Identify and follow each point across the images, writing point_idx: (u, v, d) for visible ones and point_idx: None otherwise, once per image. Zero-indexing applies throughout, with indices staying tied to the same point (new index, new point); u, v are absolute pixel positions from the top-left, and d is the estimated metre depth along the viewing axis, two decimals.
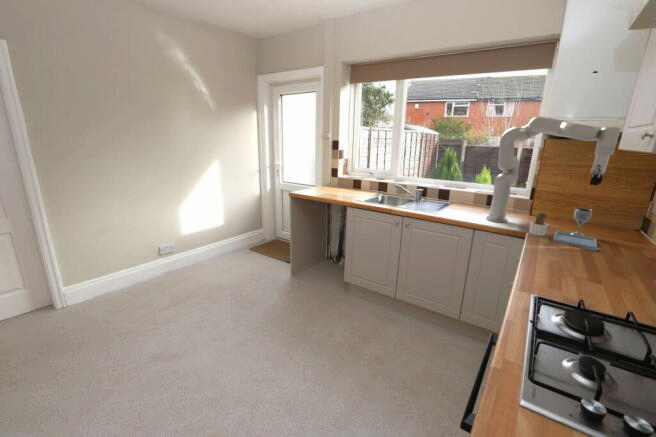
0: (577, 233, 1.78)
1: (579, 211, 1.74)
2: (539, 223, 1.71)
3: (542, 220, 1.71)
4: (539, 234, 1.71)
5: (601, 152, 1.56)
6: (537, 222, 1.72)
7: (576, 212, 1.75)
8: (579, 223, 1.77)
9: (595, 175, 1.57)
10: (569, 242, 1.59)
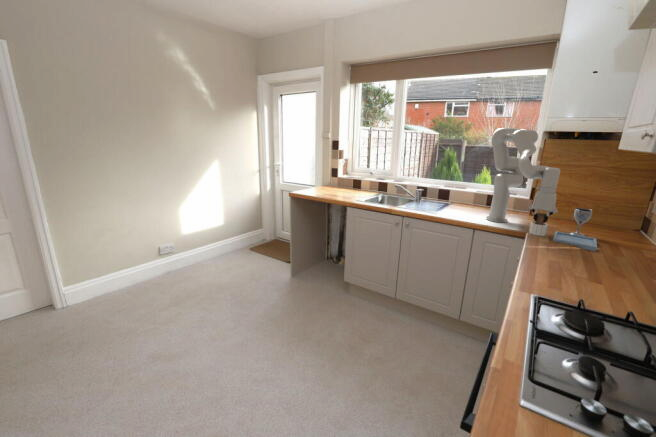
0: (577, 233, 1.78)
1: (579, 211, 1.74)
2: (539, 223, 1.71)
3: (542, 220, 1.71)
4: (539, 234, 1.71)
5: (555, 191, 1.65)
6: (537, 222, 1.72)
7: (576, 212, 1.75)
8: (579, 223, 1.77)
9: (551, 214, 1.69)
10: (569, 242, 1.59)
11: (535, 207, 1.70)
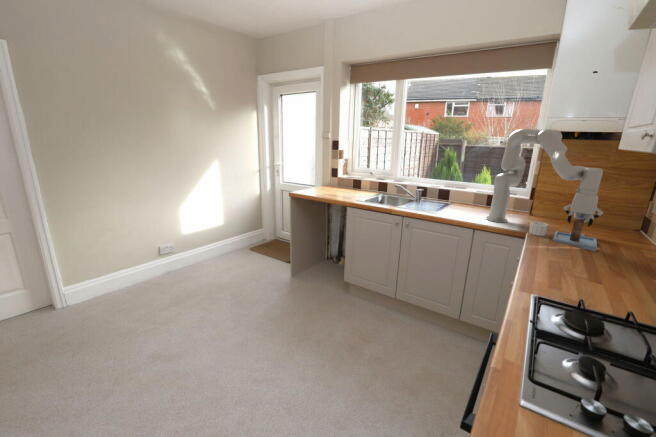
0: None
1: None
2: (577, 229, 1.61)
3: (580, 226, 1.60)
4: (539, 234, 1.71)
5: (596, 193, 1.54)
6: (575, 228, 1.62)
7: None
8: None
9: (596, 217, 1.57)
10: (569, 242, 1.59)
11: (574, 210, 1.60)
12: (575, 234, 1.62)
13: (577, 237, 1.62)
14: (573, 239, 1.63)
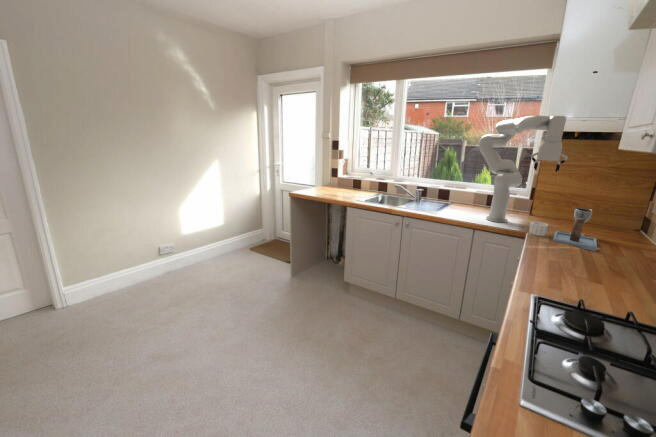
0: None
1: (579, 211, 1.74)
2: (577, 229, 1.61)
3: (580, 226, 1.60)
4: (539, 234, 1.71)
5: (560, 140, 1.63)
6: (575, 228, 1.62)
7: (576, 212, 1.75)
8: None
9: (563, 162, 1.65)
10: (569, 242, 1.59)
11: (540, 158, 1.69)
12: (575, 234, 1.62)
13: (577, 238, 1.62)
14: (573, 239, 1.63)
